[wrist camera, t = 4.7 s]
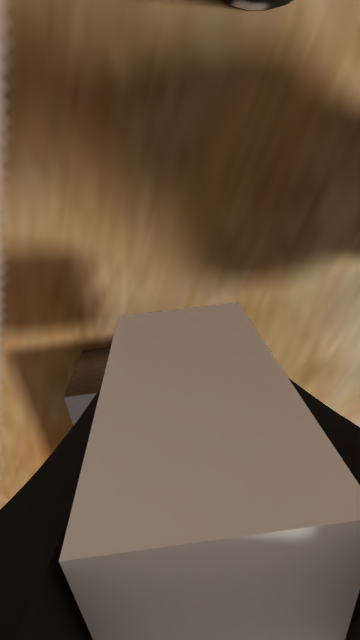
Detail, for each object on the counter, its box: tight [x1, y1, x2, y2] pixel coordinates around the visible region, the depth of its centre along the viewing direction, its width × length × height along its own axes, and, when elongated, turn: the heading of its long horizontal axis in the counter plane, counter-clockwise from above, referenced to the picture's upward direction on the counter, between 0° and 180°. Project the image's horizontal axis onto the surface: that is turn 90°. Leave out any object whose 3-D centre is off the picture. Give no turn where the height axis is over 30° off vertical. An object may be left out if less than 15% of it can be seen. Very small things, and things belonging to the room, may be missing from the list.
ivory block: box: [59, 303, 360, 640], centre depth 9 cm, size 4×4×8 cm
